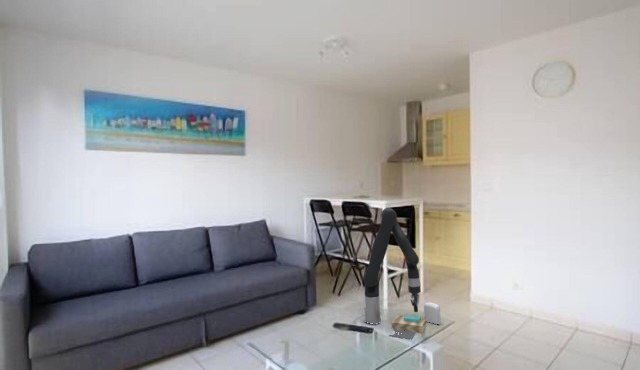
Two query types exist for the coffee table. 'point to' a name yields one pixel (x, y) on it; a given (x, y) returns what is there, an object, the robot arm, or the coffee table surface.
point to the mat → (403, 334)
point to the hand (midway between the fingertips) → (416, 311)
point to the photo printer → (432, 313)
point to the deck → (408, 324)
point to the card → (412, 318)
